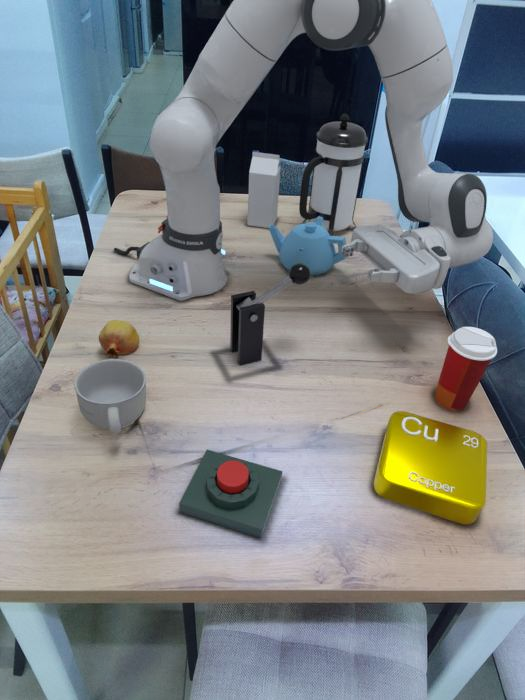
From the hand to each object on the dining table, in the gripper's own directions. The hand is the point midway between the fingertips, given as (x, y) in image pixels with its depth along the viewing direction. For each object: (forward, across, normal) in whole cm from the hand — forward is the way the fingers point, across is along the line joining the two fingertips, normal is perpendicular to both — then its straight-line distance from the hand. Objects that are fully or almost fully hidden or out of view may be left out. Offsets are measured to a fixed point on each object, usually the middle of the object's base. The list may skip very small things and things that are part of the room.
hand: (356, 263), depth 93 cm
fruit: (+43, -10, +17) cm, 47 cm away
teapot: (-6, -29, +17) cm, 34 cm away
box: (+34, +27, +17) cm, 47 cm away
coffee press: (-21, -44, +17) cm, 52 cm away
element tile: (+5, +34, +17) cm, 39 cm away
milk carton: (-5, -54, +17) cm, 57 cm away
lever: (+15, 0, +4) cm, 16 cm away
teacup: (+47, +7, +17) cm, 51 cm away
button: (+34, +27, +14) cm, 46 cm away
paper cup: (-9, +23, +17) cm, 30 cm away
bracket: (+21, 0, +17) cm, 27 cm away
